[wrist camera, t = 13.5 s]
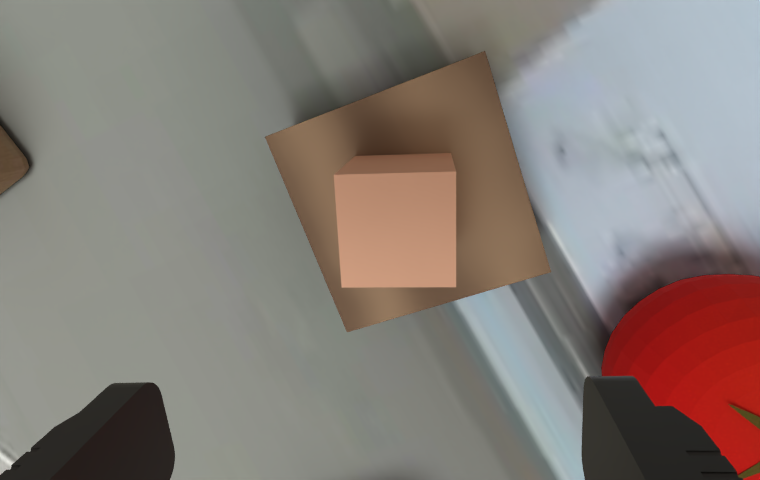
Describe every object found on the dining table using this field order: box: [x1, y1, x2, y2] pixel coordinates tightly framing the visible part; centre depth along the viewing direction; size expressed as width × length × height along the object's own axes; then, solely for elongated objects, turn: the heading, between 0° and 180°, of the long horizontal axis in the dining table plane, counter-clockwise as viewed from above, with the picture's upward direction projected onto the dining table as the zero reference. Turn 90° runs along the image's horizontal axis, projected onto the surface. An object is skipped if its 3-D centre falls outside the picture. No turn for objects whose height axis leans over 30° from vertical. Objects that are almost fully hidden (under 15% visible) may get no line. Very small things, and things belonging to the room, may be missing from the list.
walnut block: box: [265, 51, 551, 332], centre depth 30 cm, size 12×12×6 cm
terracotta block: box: [334, 153, 456, 288], centre depth 24 cm, size 5×5×6 cm
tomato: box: [602, 274, 760, 480], centre depth 28 cm, size 14×13×10 cm
